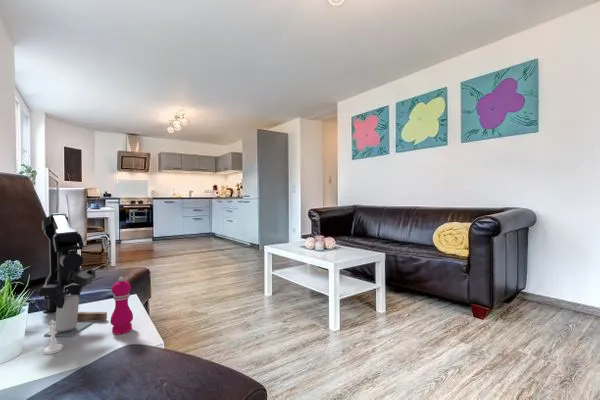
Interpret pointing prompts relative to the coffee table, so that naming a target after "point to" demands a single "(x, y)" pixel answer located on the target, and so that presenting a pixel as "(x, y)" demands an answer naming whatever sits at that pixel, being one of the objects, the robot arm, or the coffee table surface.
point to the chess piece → (52, 340)
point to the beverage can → (67, 313)
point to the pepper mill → (121, 308)
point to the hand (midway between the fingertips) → (68, 307)
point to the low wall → (91, 316)
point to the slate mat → (71, 332)
